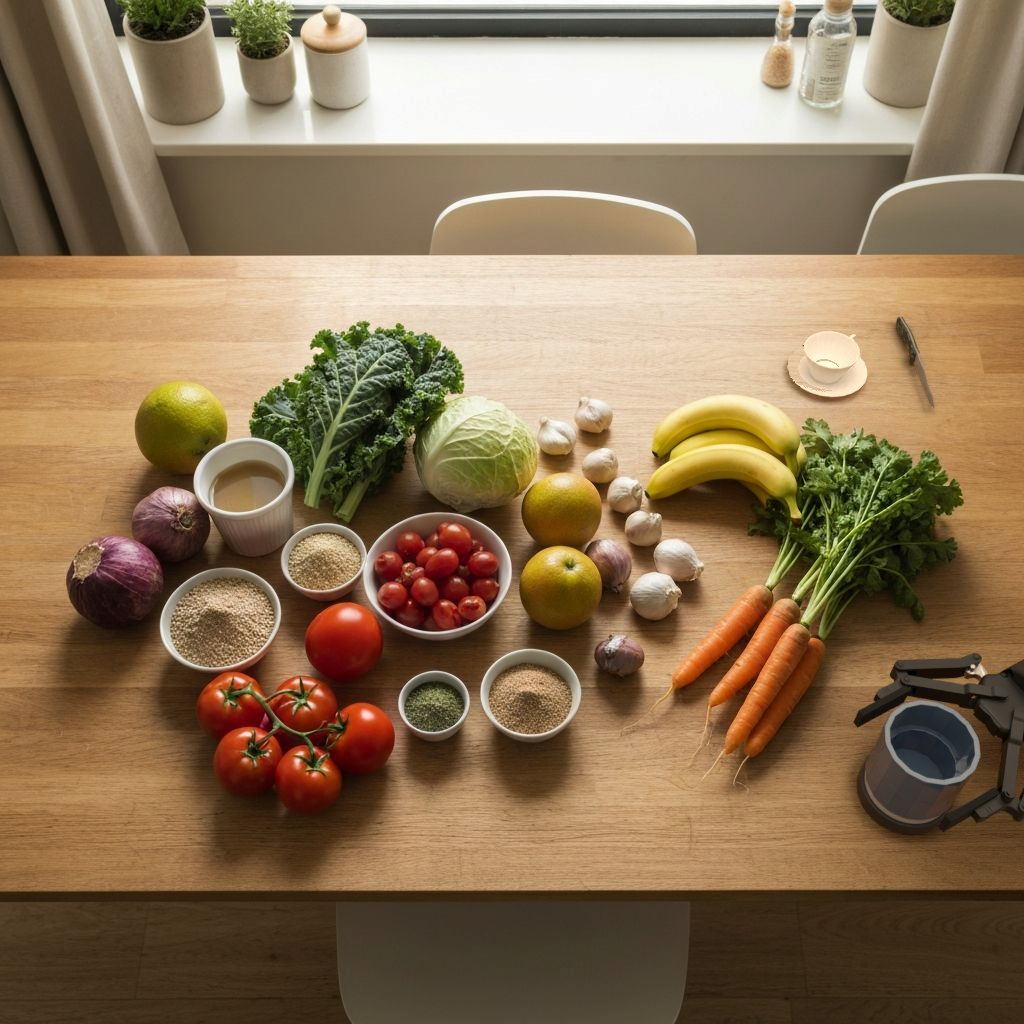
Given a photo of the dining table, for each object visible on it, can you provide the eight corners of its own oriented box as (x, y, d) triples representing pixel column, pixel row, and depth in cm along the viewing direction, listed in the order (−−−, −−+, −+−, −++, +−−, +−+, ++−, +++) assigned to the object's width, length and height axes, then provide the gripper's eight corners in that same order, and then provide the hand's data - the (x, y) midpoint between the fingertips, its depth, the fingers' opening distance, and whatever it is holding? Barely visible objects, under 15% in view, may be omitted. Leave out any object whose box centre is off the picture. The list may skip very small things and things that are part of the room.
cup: (965, 767, 120) (992, 727, 113) (936, 838, 115) (963, 801, 108) (882, 726, 124) (903, 685, 116) (851, 793, 119) (871, 755, 111)
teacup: (878, 368, 165) (887, 342, 161) (843, 414, 159) (851, 389, 155) (807, 337, 169) (814, 311, 165) (770, 381, 164) (776, 356, 159)
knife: (935, 417, 158) (941, 403, 156) (926, 417, 158) (932, 403, 156) (901, 324, 171) (906, 309, 168) (893, 324, 171) (897, 309, 168)
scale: (959, 779, 123) (967, 767, 120) (930, 852, 118) (938, 841, 115) (875, 737, 126) (881, 725, 124) (843, 806, 121) (848, 795, 119)
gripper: (1124, 792, 115) (972, 886, 110) (961, 621, 130) (818, 695, 124) (1154, 761, 110) (995, 858, 104) (980, 585, 124) (832, 661, 118)
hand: (899, 770), depth 114 cm, fingers open, 13 cm apart
